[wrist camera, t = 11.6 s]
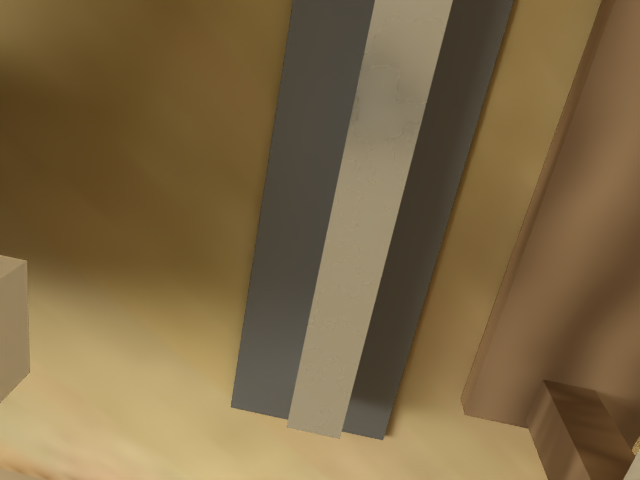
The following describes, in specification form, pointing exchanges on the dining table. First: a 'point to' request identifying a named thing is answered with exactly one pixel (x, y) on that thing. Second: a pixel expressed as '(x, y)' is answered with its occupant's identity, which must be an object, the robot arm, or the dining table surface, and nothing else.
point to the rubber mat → (319, 190)
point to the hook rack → (576, 277)
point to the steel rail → (366, 204)
